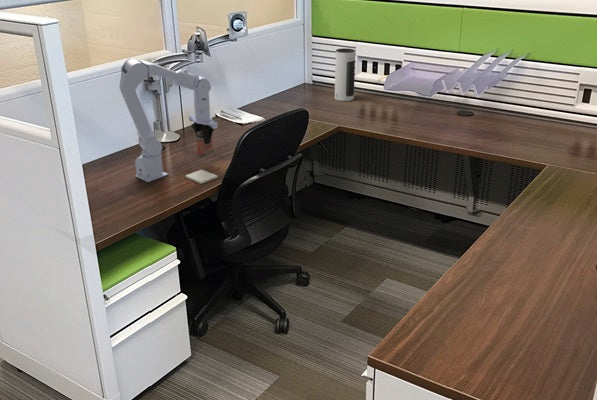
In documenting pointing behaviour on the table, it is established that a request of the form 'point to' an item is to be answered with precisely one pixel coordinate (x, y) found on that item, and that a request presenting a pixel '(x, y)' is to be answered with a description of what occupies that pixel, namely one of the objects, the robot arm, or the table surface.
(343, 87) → the speaker
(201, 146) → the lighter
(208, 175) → the tile
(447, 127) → the table surface
